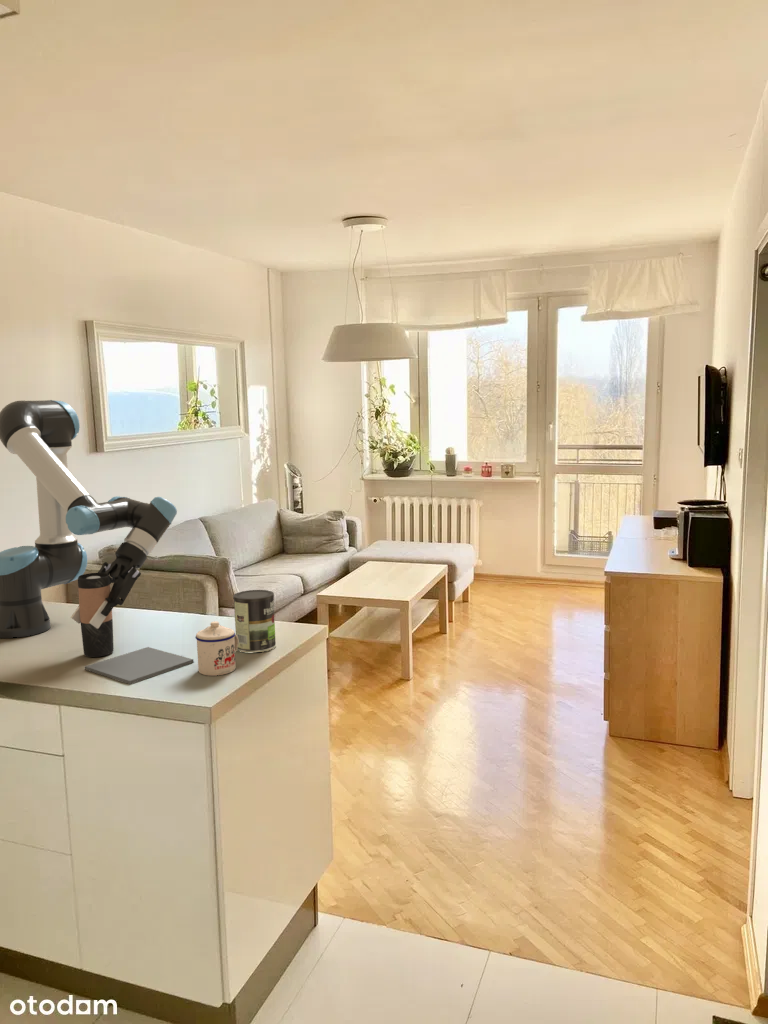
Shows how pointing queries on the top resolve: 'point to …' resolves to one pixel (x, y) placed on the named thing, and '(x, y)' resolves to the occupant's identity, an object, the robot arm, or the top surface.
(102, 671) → the pad
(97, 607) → the travel mug
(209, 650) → the teacup with lid
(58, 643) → the top surface
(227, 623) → the top surface
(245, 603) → the coffee can
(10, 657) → the top surface
